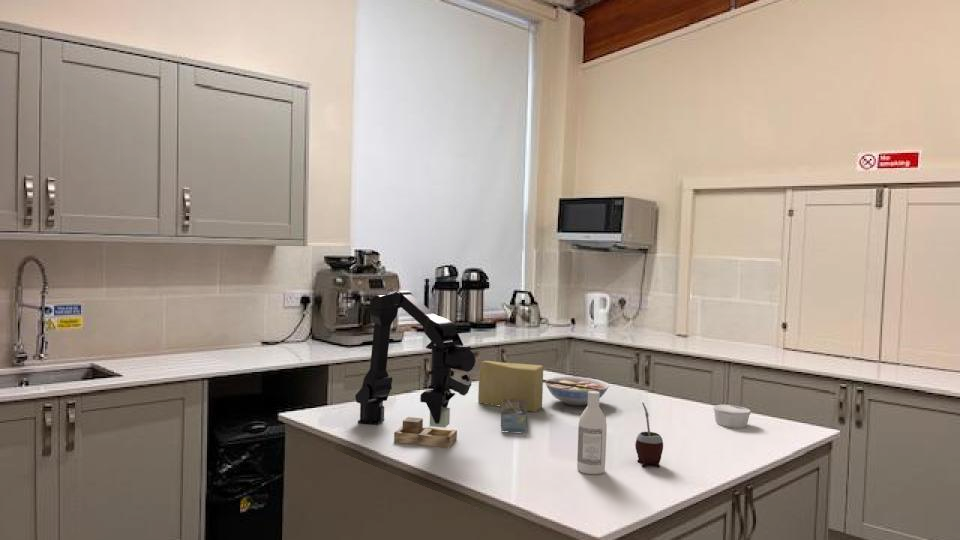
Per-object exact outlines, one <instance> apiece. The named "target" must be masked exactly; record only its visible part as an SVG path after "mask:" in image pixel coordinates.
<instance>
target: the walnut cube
mask: <svg viewBox="0 0 960 540" xmlns="http://www.w3.org/2000/svg"><path fill="white" fill-rule="evenodd" d="M423 424H424V418H423V417H422V418H421V417H415V416H414V417H413V416H412V417H411V416H408V417H406V418H405V419H404V420H402V426H403V430H402V432H405V433H415V434H420V433H421V432H422V431H423V427H424V425H423Z"/></svg>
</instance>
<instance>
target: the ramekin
mask: <svg viewBox="0 0 960 540" xmlns="http://www.w3.org/2000/svg"><path fill="white" fill-rule="evenodd" d="M713 411H714V419H715V420H714V421H715V423H716V424H717V425H719V426H722V427H725V428H731V429H744V428H745V427H746V426H747V425H748V424H749V420H750V415H751V410H750V409H749V408H747V407H743V406H739V405H733V404H717V405H714V406H713Z"/></svg>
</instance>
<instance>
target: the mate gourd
mask: <svg viewBox="0 0 960 540" xmlns="http://www.w3.org/2000/svg"><path fill="white" fill-rule="evenodd" d="M641 404H642V406H643V407H642V408H643V409H644V412H645V418H646V426H647V431H641V432H640V433H638V435H637V436H636V441H635V444H634V445H635V451H636V454H637V458H638V459H637V460H636V461H637V463H639V464H641V467H642V468H647V467H648V466H651V467H654V468H658V469H659V468H661V465H660V462H661V460H662V455H663V450H664V442H663V438H662V436H661V435H660V434H659V433H658V432H653V431H651V429H650V421H649V420H650V419H649V413H648V409H647V407H646V405H645V403H644V402H641Z"/></svg>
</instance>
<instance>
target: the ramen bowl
mask: <svg viewBox="0 0 960 540" xmlns="http://www.w3.org/2000/svg"><path fill="white" fill-rule="evenodd" d="M543 384H545V386H546V387H547V389H548V391H549V392H550V394H551V396H553V397H554V398H555V399H557V400H559V401H560V402H564V404H566V405H569V406H575V407H582V406H583V407H584V406H586V405H588V392H589V391H597V392H599V393H600V399H601V398H602V396H604V394H605V393H606V392H607V391H608V389H609V387H610V384H609V383H608V382H606V381H603V380H601V379H596V378H591V377H580V376H558V377H557V376H556V377H551V378H547V379H543Z"/></svg>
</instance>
